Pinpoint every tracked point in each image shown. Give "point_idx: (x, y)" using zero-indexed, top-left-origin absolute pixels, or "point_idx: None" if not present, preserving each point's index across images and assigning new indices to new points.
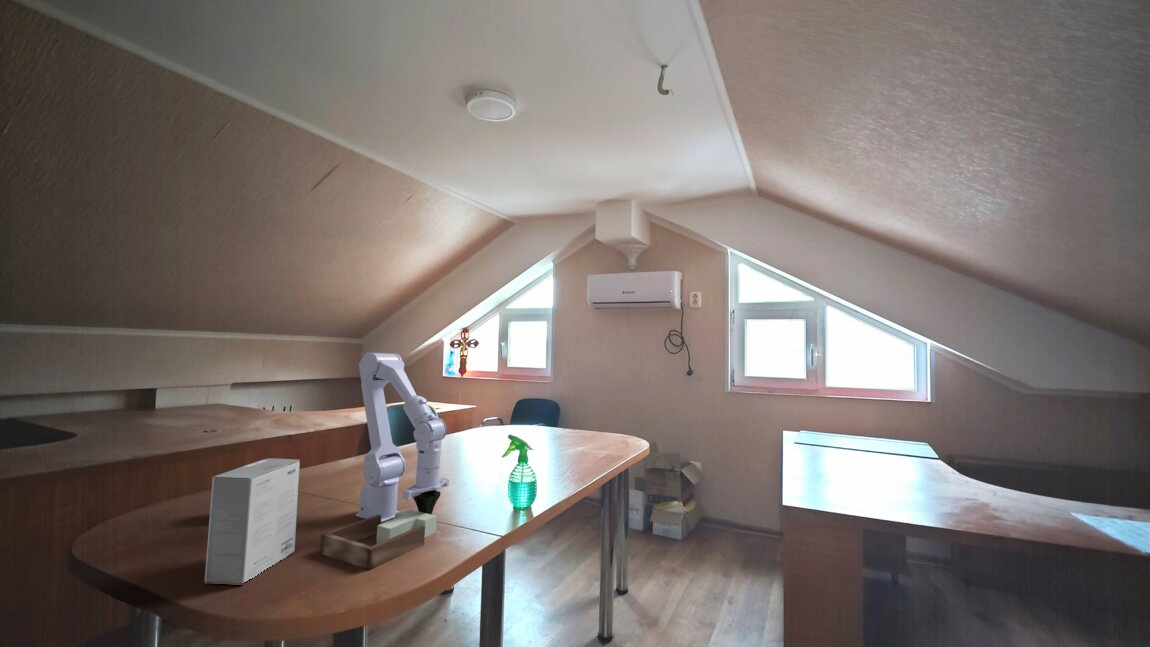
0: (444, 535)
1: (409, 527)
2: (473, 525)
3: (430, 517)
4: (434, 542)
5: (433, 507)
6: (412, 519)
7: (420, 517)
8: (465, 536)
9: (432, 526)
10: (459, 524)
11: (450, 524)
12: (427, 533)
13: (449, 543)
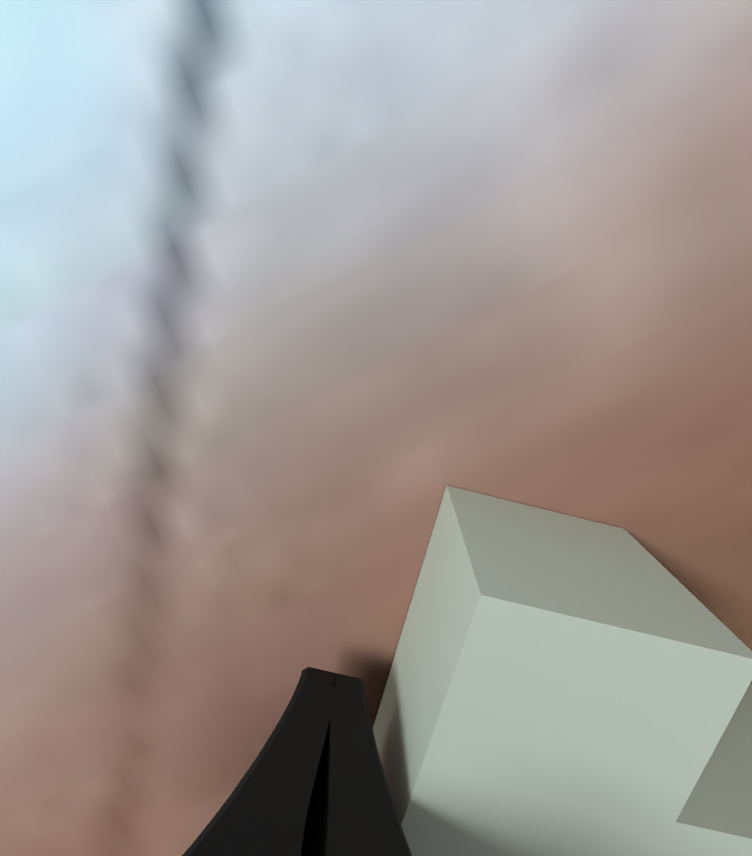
0: (503, 353)
1: (725, 757)
2: (63, 138)
3: (584, 656)
4: (732, 364)
5: (246, 806)
6: (735, 843)
7: (621, 785)
8: (468, 58)
9: (536, 541)
10: (113, 342)
11: (159, 446)
12: (594, 533)
13: (741, 165)
